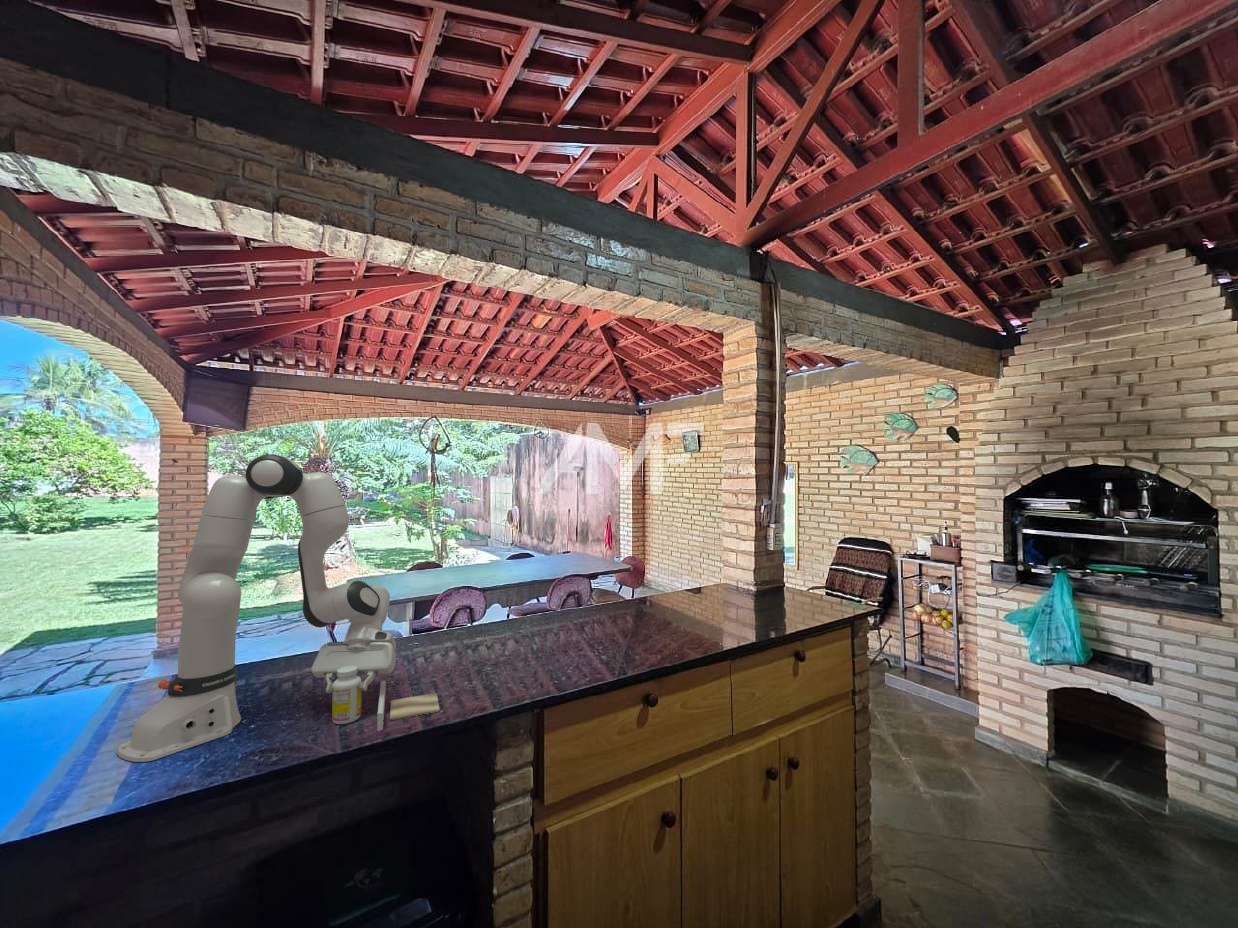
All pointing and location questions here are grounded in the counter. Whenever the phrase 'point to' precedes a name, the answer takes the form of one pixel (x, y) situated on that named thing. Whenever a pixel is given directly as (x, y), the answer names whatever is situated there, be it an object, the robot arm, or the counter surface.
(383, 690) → the frosted acrylic wall
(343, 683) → the supplement bottle
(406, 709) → the light oak mat
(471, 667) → the counter surface
